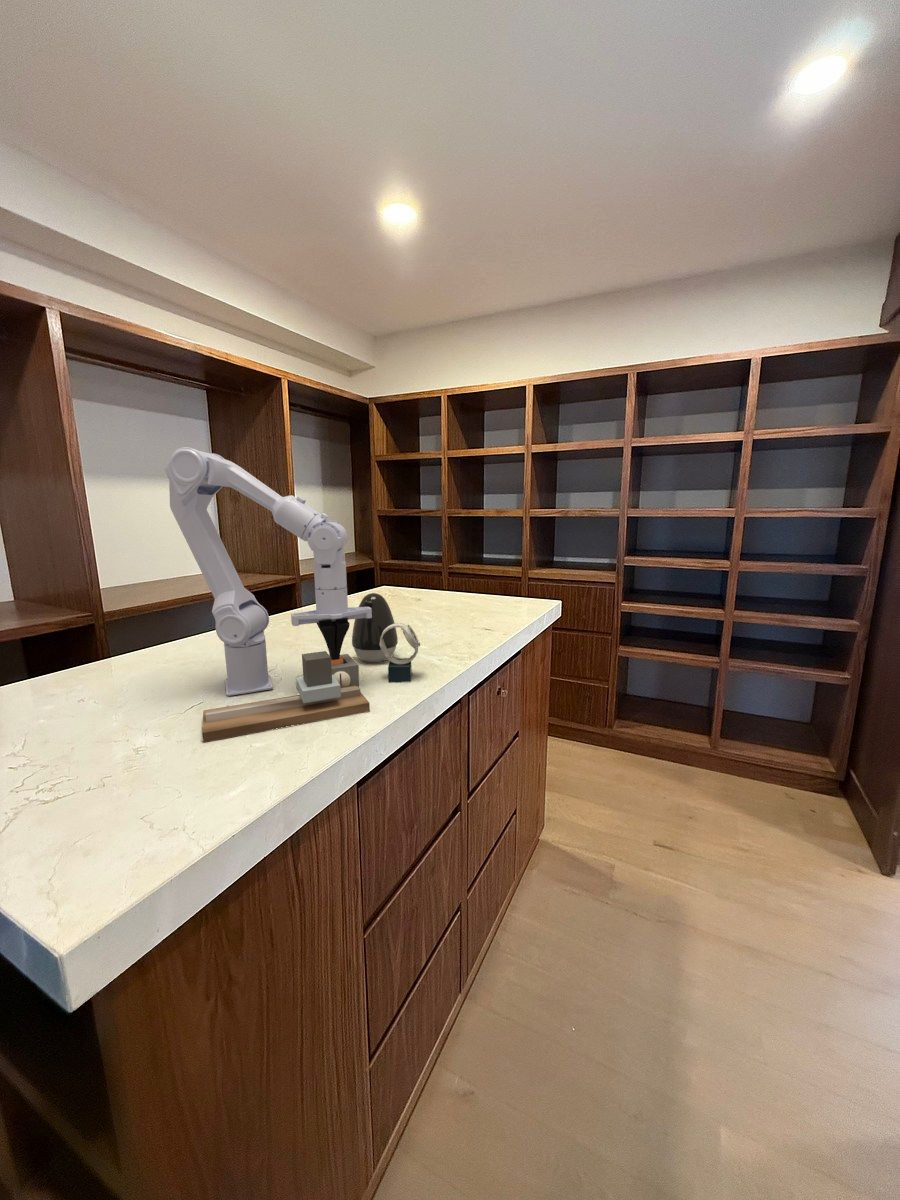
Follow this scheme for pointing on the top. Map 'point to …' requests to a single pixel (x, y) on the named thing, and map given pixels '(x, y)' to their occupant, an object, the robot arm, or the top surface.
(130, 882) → the top surface
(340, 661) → the button
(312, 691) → the carriage
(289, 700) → the rail track
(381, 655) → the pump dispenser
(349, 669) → the gauge cabinet
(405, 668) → the watch
